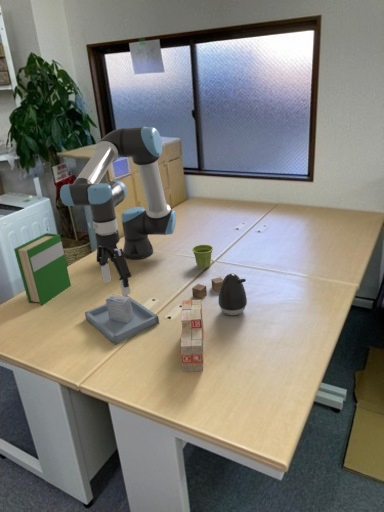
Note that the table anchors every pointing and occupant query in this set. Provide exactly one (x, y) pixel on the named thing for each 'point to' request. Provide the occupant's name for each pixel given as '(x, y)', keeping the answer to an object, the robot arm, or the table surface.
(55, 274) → the hardback book
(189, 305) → the stack of blocks
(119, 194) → the robot arm
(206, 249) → the plant pot
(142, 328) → the tray
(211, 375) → the table surface
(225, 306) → the pump dispenser
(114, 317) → the medicine box
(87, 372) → the table surface
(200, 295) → the walnut block
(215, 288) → the walnut block
